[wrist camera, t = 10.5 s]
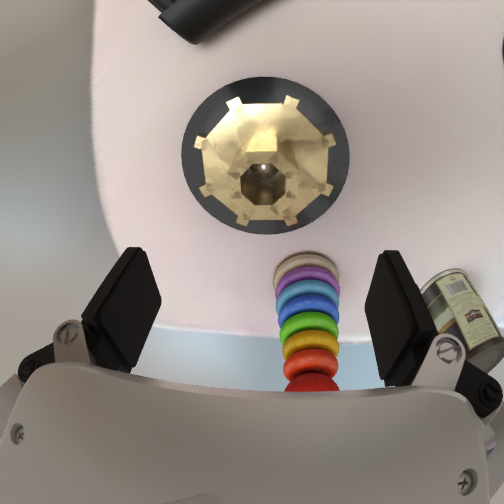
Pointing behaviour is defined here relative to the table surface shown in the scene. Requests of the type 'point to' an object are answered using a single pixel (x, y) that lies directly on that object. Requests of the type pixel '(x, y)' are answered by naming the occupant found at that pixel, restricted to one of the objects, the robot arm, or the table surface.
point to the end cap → (199, 15)
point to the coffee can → (464, 317)
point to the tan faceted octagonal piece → (265, 160)
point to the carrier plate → (265, 96)
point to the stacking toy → (308, 322)
